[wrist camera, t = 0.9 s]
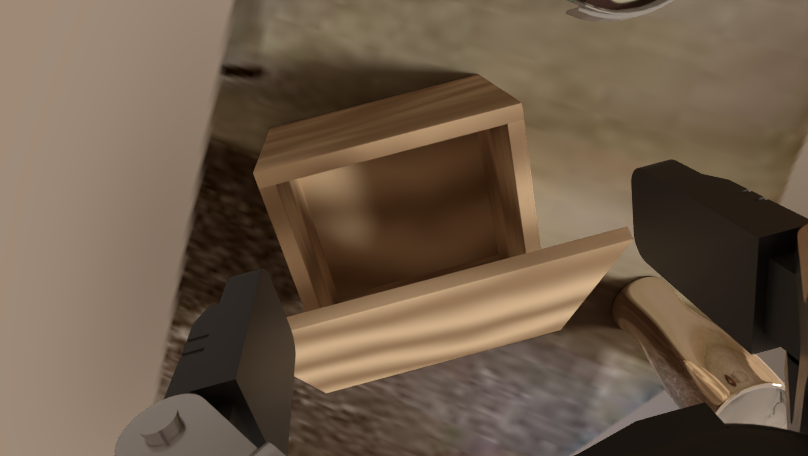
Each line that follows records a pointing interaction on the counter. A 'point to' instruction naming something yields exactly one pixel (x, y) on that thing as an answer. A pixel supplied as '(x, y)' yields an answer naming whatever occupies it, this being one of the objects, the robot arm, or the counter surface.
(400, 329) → the wooden box lid
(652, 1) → the food container
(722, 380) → the beer glass
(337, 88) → the counter surface
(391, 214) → the wooden box
